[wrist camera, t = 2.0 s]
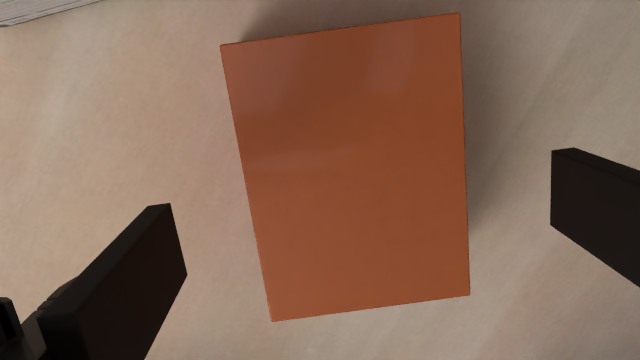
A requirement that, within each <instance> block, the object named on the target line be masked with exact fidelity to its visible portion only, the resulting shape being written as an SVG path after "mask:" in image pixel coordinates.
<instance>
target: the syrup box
mask: <svg viewBox="0 0 640 360" xmlns="http://www.w3.org/2000/svg"><path fill="white" fill-rule="evenodd" d="M99 1H102V0H0V27H8V26H12V25H16V24H20V23H23V22H26V21H30V20H33V19H37V18H41V17H44V16H48V15H52V14H55V13H58V12H61V11H65V10H69V9H73V8H77V7H80V6H84V5H88V4H91V3H95V2H99Z"/></svg>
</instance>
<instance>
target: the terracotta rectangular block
mask: <svg viewBox="0 0 640 360" xmlns="http://www.w3.org/2000/svg"><path fill="white" fill-rule="evenodd" d="M220 52H221V57H222V62H223V67H224V73H225V78H226V83H227V89H228V94H229V99H230V105H231V110H232V115H233V120H234V126H235V131H236V136H237V142H238V147H239V152H240V158H241V163H242V168H243V173H244V179H245V184H246V189H247V195H248V200H249V205H250V211H251V216H252V221H253V226H254V232H255V237H256V242H257V248H258V253H259V258H260V264H261V269H262V274H263V279H264V285H265V290H266V295H267V301H268V306H269V311H270V317H271V321H272V322H276V321H283V320H290V319H298V318H305V317H313V316H320V315H327V314H335V313H342V312H350V311H357V310H364V309H372V308H379V307H387V306H394V305H401V304H409V303H416V302H423V301H431V300H438V299H446V298H453V297H460V296H468V295H470V275H469V247H468V219H467V191H466V164H465V136H464V108H463V80H462V53H461V25H460V13H459V12H456V13H449V14H441V15H434V16H427V17H419V18H412V19H405V20H397V21H390V22H383V23H376V24H368V25H361V26H354V27H346V28H339V29H332V30H324V31H317V32H310V33H302V34H295V35H288V36H281V37H273V38H266V39H259V40H251V41H244V42H237V43H229V44H222V45H220Z"/></svg>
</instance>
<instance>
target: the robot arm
mask: <svg viewBox="0 0 640 360" xmlns="http://www.w3.org/2000/svg"><path fill="white" fill-rule="evenodd" d="M550 225H551V226H552V227H554V228H555V229H557V230H558V231H560V232H561V233H562V234H564V235H565V236H567V237H568V238H570V239H571V240H572V241H574V242H575V243H577V244H578V245H580V246H581V247H582V248H584V249H585V250H587V251H588V252H590V253H591V254H592V255H594V256H595V257H597V258H598V259H600V260H601V261H602V262H604V263H605V264H607V265H608V266H610V267H611V268H612V269H614V270H615V271H617V272H618V273H620V274H621V275H623V276H624V277H625V278H627V279H628V280H630V281H631V282H633V283H634V284H635V285H637V286H638V287H640V171H639V170H636V169H633V168H630V167H628V166H625V165H622V164H619V163H616V162H614V161H611V160H608V159H605V158H602V157H599V156H597V155H594V154H591V153H588V152H585V151H582V150H580V149H577V148H574V147H573V148H566V149H559V150H552V153H551V212H550ZM186 277H187V271H186V267H185V263H184V259H183V255H182V250H181V246H180V242H179V238H178V234H177V230H176V225H175V221H174V217H173V213H172V209H171V205H170V203H166V204H159V205H151V206H147V207H146V208H145V209H144V210H143V211H142V212H141V213H140V214H139V215H138V216H137V217H136V218H135V219H134V220H133V221H132V222H131V223H130V224H129V225H128V226H127V227H126V228H125V229H124V230H123V231H122V232H121V233H120V234H119V236H118V237H117V238H116V239H115V240H114V241H113V242H112V243H111V244H110V245H109V246H108V247H107V248H106V249H105V250H104V251H103V252H102V253H101V254H100V255H99V256H98V257H97V258H96V259H95V260H94V261H93V262H92V263H91V264H90V265H89V266H88V267H87V268H86V269H85V270H84V271H83V272H82V273H81V274H80V275H79V276H78V277H75V278H74V279H72V280H70V281H69V282H67V283H65V284H64V285H62V286H61V287H59V288H58V289H57V290H56V291H55V292H54V293H53V294H51V295H50V296H49V297H48V298H47V301H44V302H43V303H42V304H41V305H40V306H39V307H38V308H37V311H34V312H33V313H32V314H31V315H30V316H29V317H28V318H27V319H26V320H25V321H24V322H23V323H22V324H20V321H19V319H18V316H17V313H16V311H15V308H14V305H13V303H12V300H10V299H9V298H7V297H0V360H144V359H145V357H146V355H147V353H148V351H149V349H150V348H151V346H152V344H153V342H154V340H155V338H156V336H157V334H158V332H159V330H160V328H161V326H162V324H163V322H164V320H165V318H166V316H167V314H168V312H169V310H170V308H171V306H172V304H173V302H174V300H175V298H176V296H177V295H178V293H179V291H180V289H181V287H182V285H183V283H184V281H185V279H186Z"/></svg>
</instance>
